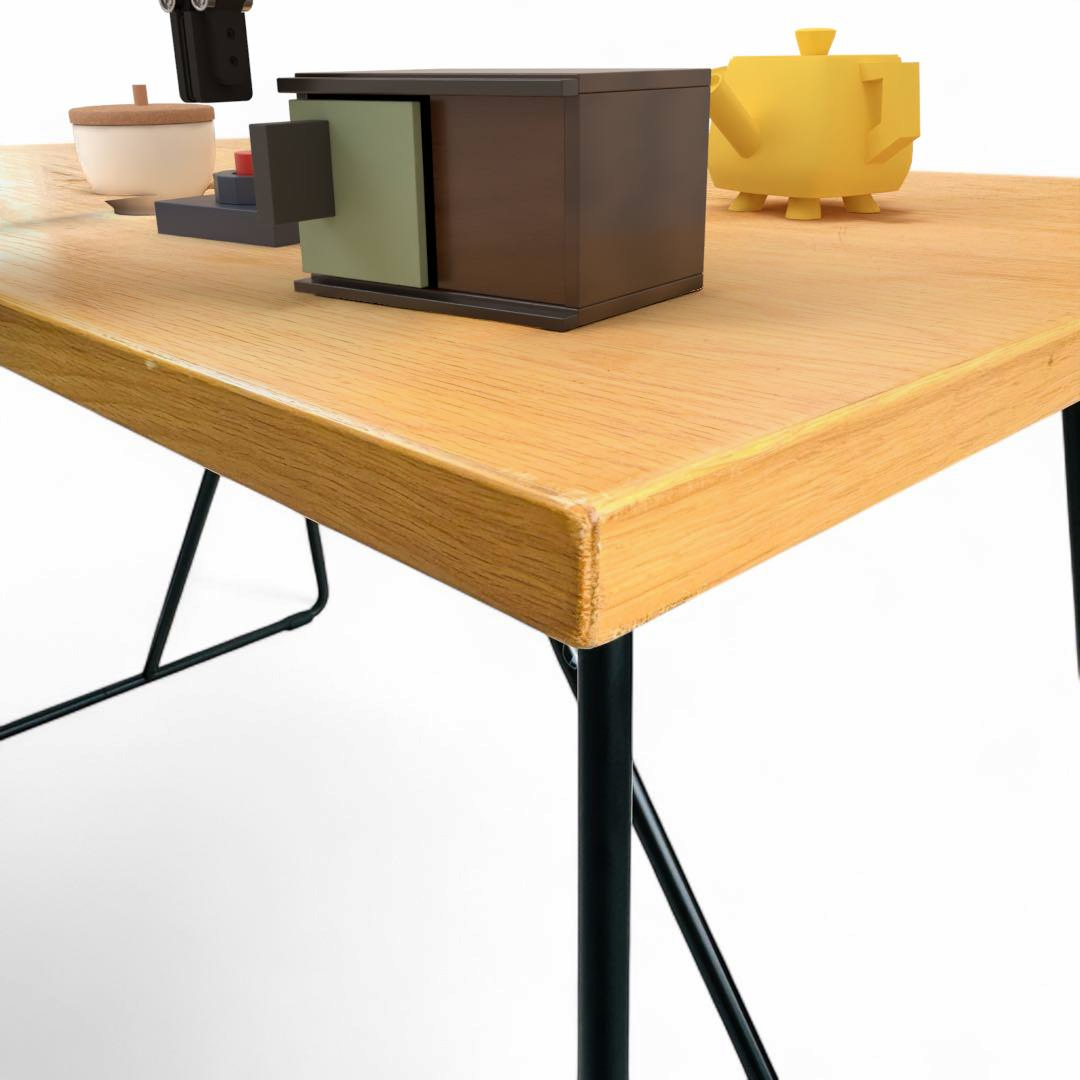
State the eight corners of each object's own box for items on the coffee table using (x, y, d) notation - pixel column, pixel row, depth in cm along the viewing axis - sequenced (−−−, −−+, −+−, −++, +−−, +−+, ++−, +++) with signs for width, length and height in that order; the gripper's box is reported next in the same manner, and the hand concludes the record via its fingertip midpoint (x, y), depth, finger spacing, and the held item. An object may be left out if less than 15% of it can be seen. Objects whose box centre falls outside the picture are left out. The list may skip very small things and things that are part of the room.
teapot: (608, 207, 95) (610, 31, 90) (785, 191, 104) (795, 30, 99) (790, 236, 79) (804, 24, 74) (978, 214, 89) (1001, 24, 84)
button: (224, 179, 82) (221, 152, 82) (269, 174, 85) (266, 148, 85) (263, 182, 80) (261, 154, 79) (308, 177, 83) (306, 150, 82)
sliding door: (361, 301, 55) (348, 105, 52) (241, 284, 60) (223, 102, 56) (429, 286, 58) (420, 101, 55) (310, 270, 63) (296, 98, 60)
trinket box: (61, 211, 96) (41, 85, 93) (185, 200, 103) (171, 82, 99) (119, 224, 89) (100, 87, 85) (249, 210, 95) (237, 83, 92)
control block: (157, 233, 84) (150, 173, 82) (268, 218, 91) (263, 162, 90) (275, 248, 77) (269, 182, 76) (384, 229, 84) (381, 170, 83)
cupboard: (562, 332, 53) (561, 73, 49) (294, 291, 63) (275, 73, 59) (703, 288, 62) (712, 68, 58) (450, 259, 72) (442, 68, 68)
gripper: (-10, -338, 53) (59, 104, 60) (209, -417, 45) (261, 106, 52) (133, -303, 59) (182, 98, 66) (352, -368, 51) (382, 99, 57)
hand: (217, 100), depth 59 cm, fingers closed
